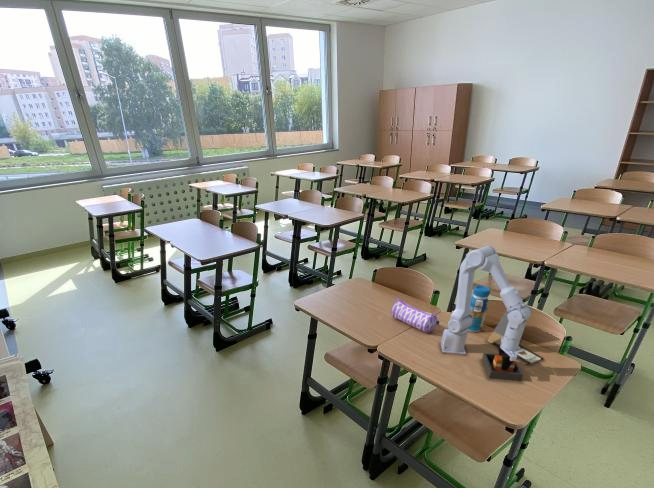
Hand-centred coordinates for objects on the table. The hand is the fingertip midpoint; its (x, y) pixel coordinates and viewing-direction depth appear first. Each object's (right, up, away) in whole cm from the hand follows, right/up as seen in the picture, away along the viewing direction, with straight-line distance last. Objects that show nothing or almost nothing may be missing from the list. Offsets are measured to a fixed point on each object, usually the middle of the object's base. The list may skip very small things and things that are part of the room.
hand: (502, 366), depth 154 cm
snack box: (0, -1, +1) cm, 1 cm away
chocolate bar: (+12, +6, +13) cm, 19 cm away
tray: (0, -2, +1) cm, 2 cm away
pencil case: (-27, +19, +33) cm, 47 cm away
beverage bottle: (0, +17, +31) cm, 35 cm away
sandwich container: (+11, +12, +22) cm, 27 cm away
